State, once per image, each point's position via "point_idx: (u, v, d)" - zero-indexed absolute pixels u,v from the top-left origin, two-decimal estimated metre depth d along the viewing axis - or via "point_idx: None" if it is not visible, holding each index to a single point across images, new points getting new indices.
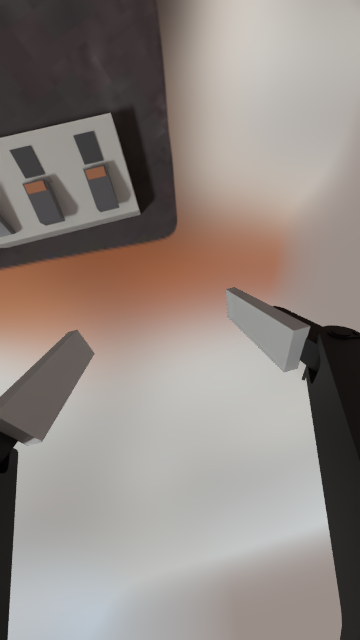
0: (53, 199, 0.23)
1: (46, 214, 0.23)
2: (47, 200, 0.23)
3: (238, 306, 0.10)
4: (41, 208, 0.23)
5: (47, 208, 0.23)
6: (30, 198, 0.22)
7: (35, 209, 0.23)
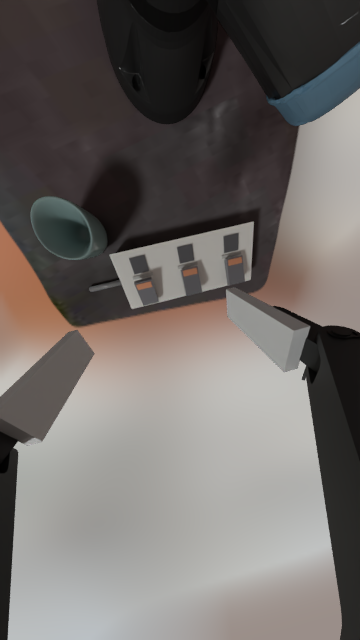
0: (199, 279, 0.29)
1: (193, 290, 0.30)
2: (195, 280, 0.29)
3: (238, 306, 0.10)
4: (190, 286, 0.29)
5: (194, 286, 0.30)
6: (183, 279, 0.29)
7: (185, 286, 0.29)
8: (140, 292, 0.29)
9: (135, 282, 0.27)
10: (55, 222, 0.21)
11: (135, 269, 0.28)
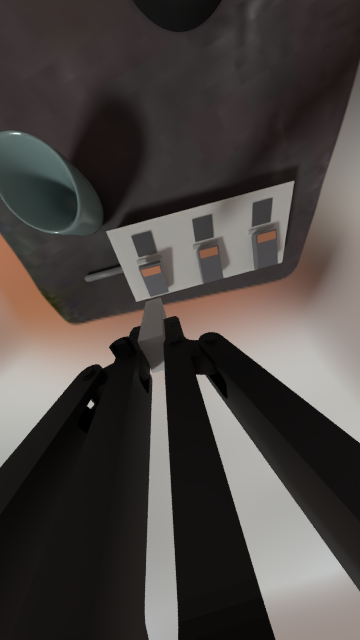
0: None
1: (212, 276, 0.24)
2: (215, 263, 0.23)
3: None
4: (208, 270, 0.23)
5: (214, 270, 0.23)
6: (200, 262, 0.23)
7: (203, 272, 0.23)
8: (146, 280, 0.23)
9: (140, 267, 0.22)
10: (29, 180, 0.15)
11: (139, 250, 0.22)
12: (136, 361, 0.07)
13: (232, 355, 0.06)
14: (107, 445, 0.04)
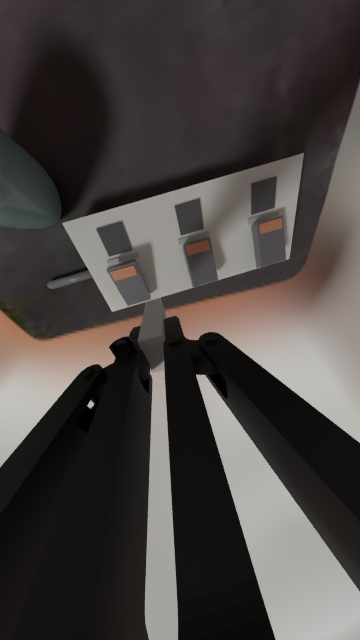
0: (213, 259, 0.18)
1: (203, 277, 0.19)
2: (207, 261, 0.18)
3: None
4: (198, 271, 0.18)
5: (205, 270, 0.18)
6: (188, 261, 0.18)
7: (192, 272, 0.18)
8: (119, 285, 0.18)
9: (109, 268, 0.17)
10: None
11: (109, 248, 0.18)
12: (136, 361, 0.07)
13: (232, 355, 0.06)
14: (107, 445, 0.04)
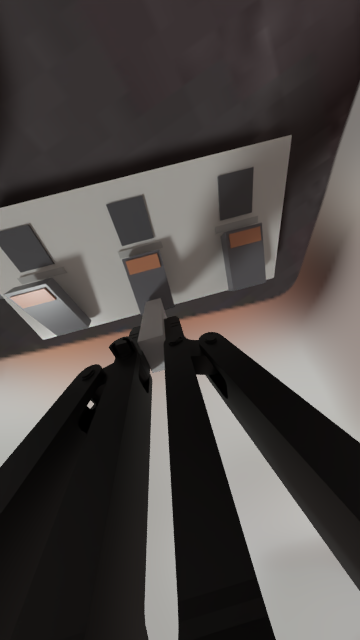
0: None
1: None
2: (158, 282, 0.13)
3: None
4: (147, 295, 0.14)
5: (156, 294, 0.14)
6: (131, 282, 0.13)
7: (137, 297, 0.13)
8: (33, 312, 0.13)
9: (10, 291, 0.12)
10: None
11: (18, 260, 0.12)
12: (136, 361, 0.07)
13: (232, 355, 0.06)
14: (107, 445, 0.04)
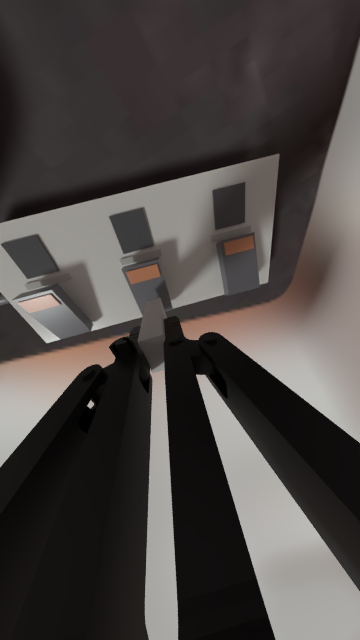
0: (166, 286, 0.14)
1: None
2: (158, 290, 0.14)
3: None
4: (148, 300, 0.15)
5: None
6: (132, 290, 0.14)
7: (139, 302, 0.15)
8: (39, 316, 0.13)
9: (18, 297, 0.12)
10: None
11: (25, 268, 0.13)
12: (136, 361, 0.07)
13: (232, 355, 0.06)
14: (107, 445, 0.04)
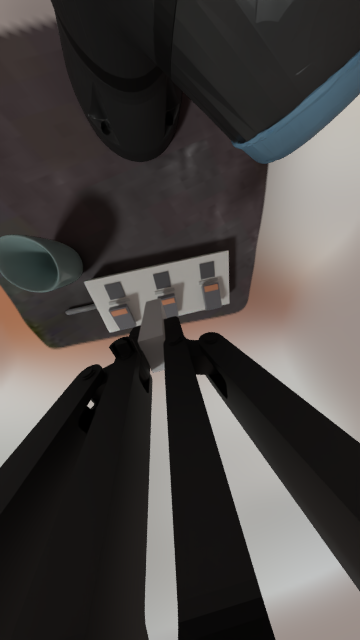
0: (176, 305, 0.30)
1: (169, 314, 0.31)
2: (173, 307, 0.30)
3: None
4: (167, 312, 0.30)
5: (171, 311, 0.30)
6: None
7: None
8: (116, 318, 0.28)
9: (110, 309, 0.27)
10: (22, 255, 0.21)
11: (111, 295, 0.28)
12: (136, 361, 0.07)
13: (232, 355, 0.06)
14: (107, 445, 0.04)
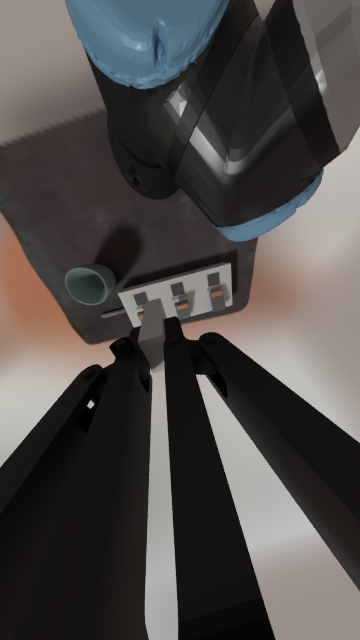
0: (189, 309, 0.37)
1: (183, 316, 0.38)
2: (186, 310, 0.37)
3: None
4: (181, 314, 0.38)
5: (185, 313, 0.38)
6: (177, 311, 0.36)
7: (178, 315, 0.38)
8: None
9: (138, 313, 0.35)
10: (79, 278, 0.28)
11: (138, 302, 0.36)
12: (136, 361, 0.07)
13: (232, 355, 0.06)
14: (107, 445, 0.04)
